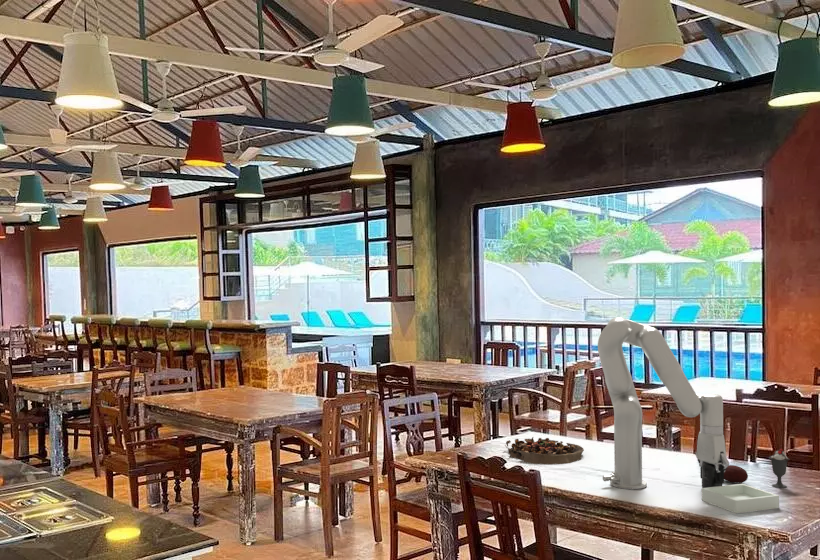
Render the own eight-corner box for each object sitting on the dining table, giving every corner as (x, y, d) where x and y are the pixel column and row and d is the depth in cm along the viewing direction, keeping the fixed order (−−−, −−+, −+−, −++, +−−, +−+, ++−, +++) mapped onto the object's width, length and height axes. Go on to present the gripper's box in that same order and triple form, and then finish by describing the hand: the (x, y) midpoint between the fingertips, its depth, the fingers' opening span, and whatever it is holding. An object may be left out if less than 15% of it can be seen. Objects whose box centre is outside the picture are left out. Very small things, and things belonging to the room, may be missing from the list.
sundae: (781, 489, 275) (781, 446, 275) (765, 485, 281) (764, 443, 281) (794, 487, 278) (793, 444, 278) (777, 483, 284) (777, 441, 284)
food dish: (505, 448, 353) (505, 430, 353) (580, 451, 348) (580, 433, 349) (503, 463, 318) (503, 444, 319) (587, 467, 314) (587, 447, 314)
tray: (736, 513, 248) (736, 500, 248) (701, 500, 263) (701, 488, 263) (779, 508, 253) (779, 495, 253) (743, 495, 268) (743, 483, 268)
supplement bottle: (724, 492, 272) (724, 457, 272) (703, 491, 274) (703, 456, 274) (720, 487, 279) (720, 453, 279) (700, 486, 280) (700, 452, 280)
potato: (728, 478, 292) (728, 461, 292) (753, 484, 283) (752, 467, 283) (715, 481, 288) (715, 464, 288) (740, 487, 279) (740, 469, 279)
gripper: (686, 426, 283) (686, 475, 283) (720, 435, 267) (720, 487, 267) (703, 424, 286) (704, 474, 286) (738, 433, 269) (738, 485, 269)
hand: (712, 480), depth 276 cm, fingers closed on supplement bottle, 6 cm apart
